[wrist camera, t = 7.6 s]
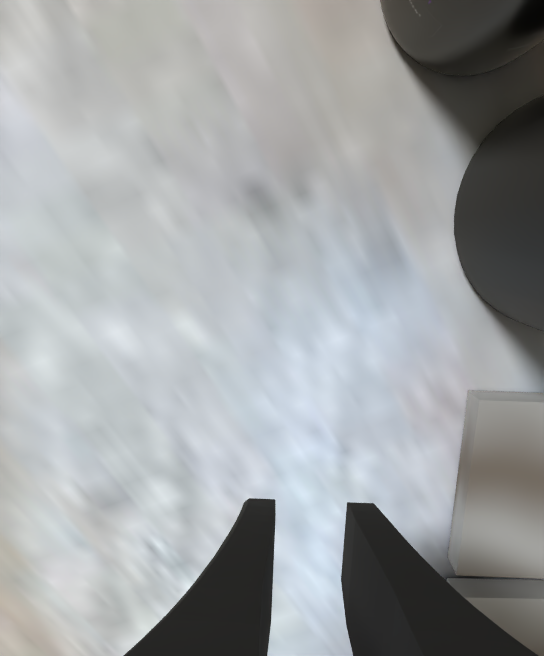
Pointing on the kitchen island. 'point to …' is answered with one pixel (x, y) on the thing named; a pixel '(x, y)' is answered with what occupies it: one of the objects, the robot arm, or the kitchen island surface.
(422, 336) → the kitchen island surface
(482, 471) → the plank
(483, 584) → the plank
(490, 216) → the mug
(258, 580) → the robot arm
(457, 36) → the supplement bottle
